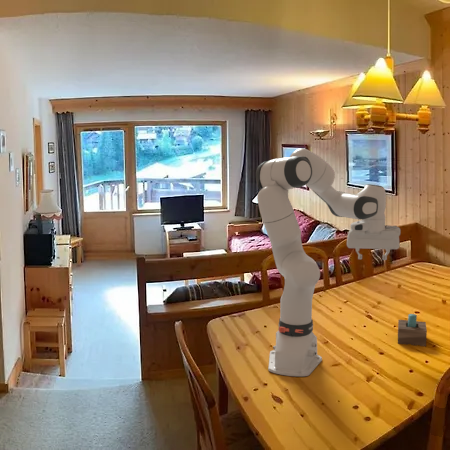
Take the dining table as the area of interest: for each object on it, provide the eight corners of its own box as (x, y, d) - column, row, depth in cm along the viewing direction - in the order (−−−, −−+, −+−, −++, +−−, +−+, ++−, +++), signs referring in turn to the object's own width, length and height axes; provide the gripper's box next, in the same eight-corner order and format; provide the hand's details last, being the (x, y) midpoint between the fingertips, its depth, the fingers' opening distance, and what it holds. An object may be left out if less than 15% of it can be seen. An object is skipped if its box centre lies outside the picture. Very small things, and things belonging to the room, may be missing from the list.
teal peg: (415, 341, 203) (416, 316, 201) (407, 341, 204) (408, 316, 202) (415, 338, 206) (416, 314, 204) (406, 338, 207) (408, 313, 205)
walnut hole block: (425, 346, 199) (426, 331, 198) (397, 343, 202) (398, 328, 201) (424, 336, 208) (425, 322, 207) (397, 334, 211) (398, 319, 210)
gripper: (399, 224, 211) (398, 258, 213) (346, 223, 215) (346, 256, 217) (402, 227, 205) (400, 261, 207) (347, 226, 208) (346, 260, 211)
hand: (372, 259), depth 212 cm, fingers open, 8 cm apart
